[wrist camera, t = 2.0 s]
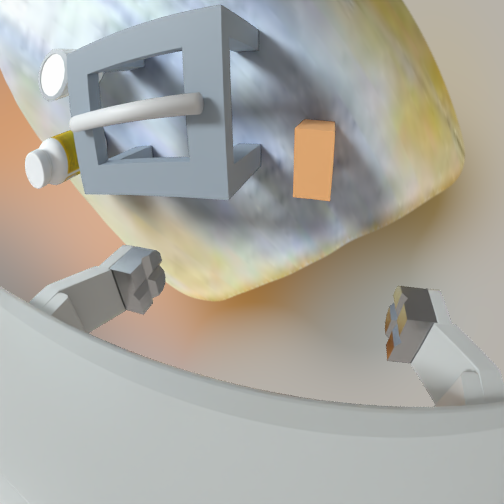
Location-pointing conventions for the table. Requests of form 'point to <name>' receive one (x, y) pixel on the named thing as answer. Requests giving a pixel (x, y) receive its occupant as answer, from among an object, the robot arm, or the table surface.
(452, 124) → the table surface
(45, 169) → the pill bottle
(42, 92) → the shot glass
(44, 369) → the robot arm
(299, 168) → the tall tan box
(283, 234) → the table surface
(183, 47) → the square frame with slider
